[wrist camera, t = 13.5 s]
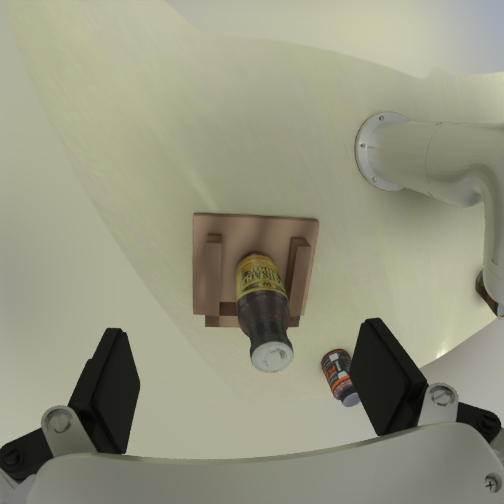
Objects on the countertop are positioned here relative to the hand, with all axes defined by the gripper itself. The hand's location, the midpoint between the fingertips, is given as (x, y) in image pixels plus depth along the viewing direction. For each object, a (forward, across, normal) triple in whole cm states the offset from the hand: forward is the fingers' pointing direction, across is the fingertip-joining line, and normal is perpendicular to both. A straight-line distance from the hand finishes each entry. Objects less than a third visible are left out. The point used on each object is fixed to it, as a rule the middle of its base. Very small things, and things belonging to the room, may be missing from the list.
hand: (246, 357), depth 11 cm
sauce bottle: (+32, -4, +11) cm, 34 cm away
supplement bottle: (+34, -20, +32) cm, 51 cm away
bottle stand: (+34, -4, +11) cm, 36 cm away
